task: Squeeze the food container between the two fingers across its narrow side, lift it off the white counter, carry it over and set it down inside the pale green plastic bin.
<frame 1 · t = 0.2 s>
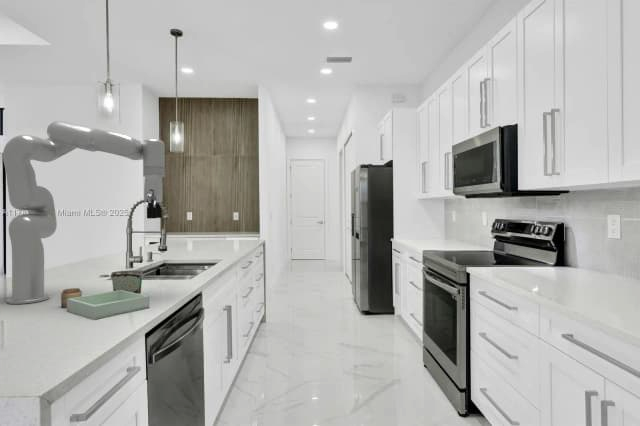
hand: (154, 218, 150), 30 cm above the counter, tool pointing down, fingers open, 9 cm apart
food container: (130, 298, 151), on the counter
bin: (108, 309, 133), on the counter
salt cellar: (71, 306, 137), on the counter
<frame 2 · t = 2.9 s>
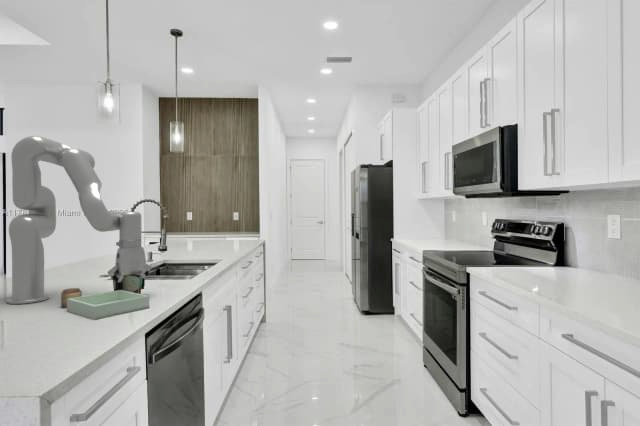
hand: (130, 290, 151), 3 cm above the counter, tool pointing down, fingers open, 8 cm apart
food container: (131, 298, 151), on the counter, touching gripper
everything else where it was.
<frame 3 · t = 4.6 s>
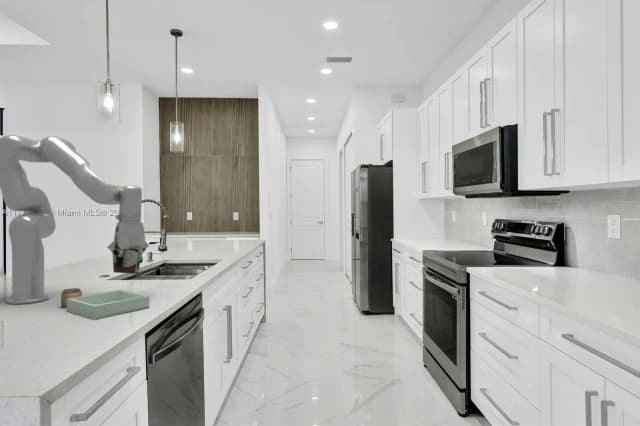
hand: (128, 265, 150), 12 cm above the counter, tool pointing down, fingers closed on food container, 6 cm apart
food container: (129, 272, 151), point 9 cm above the counter, touching gripper
everything else where it was.
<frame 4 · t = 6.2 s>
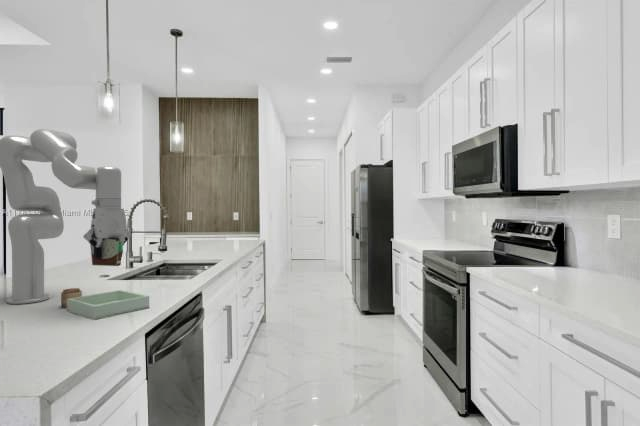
hand: (108, 257, 133), 17 cm above the counter, tool pointing down, fingers closed on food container, 6 cm apart
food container: (111, 265, 134), point 15 cm above the counter, touching gripper
everything else where it was.
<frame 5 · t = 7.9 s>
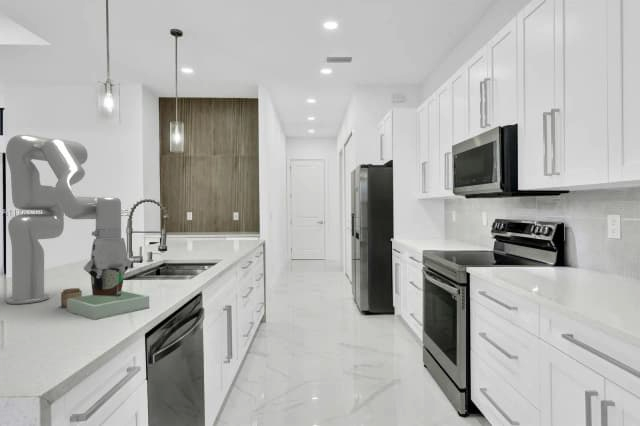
hand: (108, 287, 133), 7 cm above the counter, tool pointing down, fingers closed on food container, 6 cm apart
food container: (111, 294, 133), point 5 cm above the counter, touching gripper
everything else where it was.
when the fingers open (5 cm above the counter, at t = 9.3 s): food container drops 2 cm, resting on bin.
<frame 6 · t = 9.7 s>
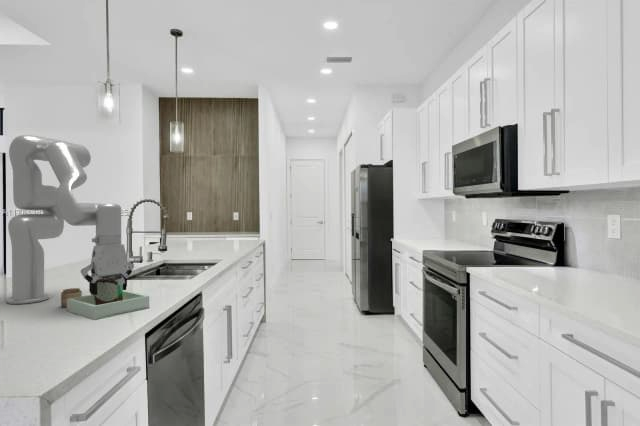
hand: (108, 292, 133), 6 cm above the counter, tool pointing down, fingers open, 9 cm apart
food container: (114, 305, 135), point 1 cm above the counter, touching bin, gripper
everything else where it was.
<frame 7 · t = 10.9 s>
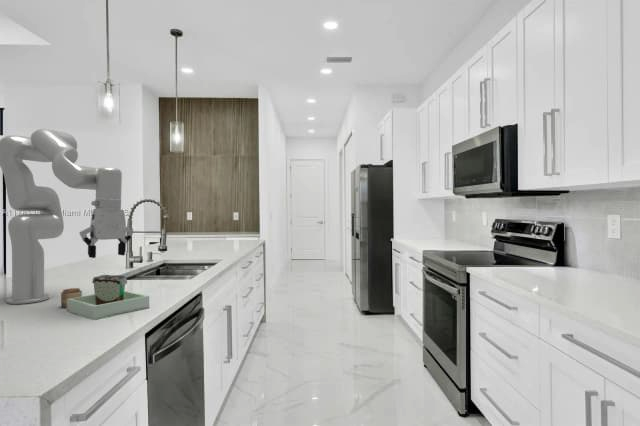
hand: (107, 256, 133), 18 cm above the counter, tool pointing down, fingers open, 9 cm apart
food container: (114, 306, 135), resting on bin
everything else where it was.
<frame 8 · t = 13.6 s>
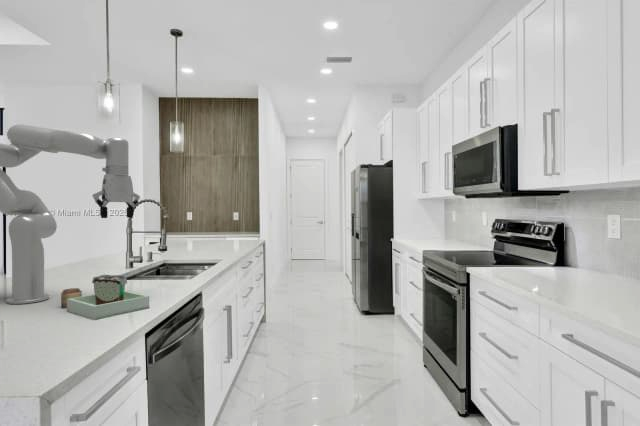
hand: (117, 217, 148), 30 cm above the counter, tool pointing down, fingers open, 9 cm apart
nothing on the counter moved.
at the end: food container inside the target area on the bin (2.3 cm from its centre), point 0.4 cm above the bin's base; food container tilted 0°; the gripper is holding nothing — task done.
